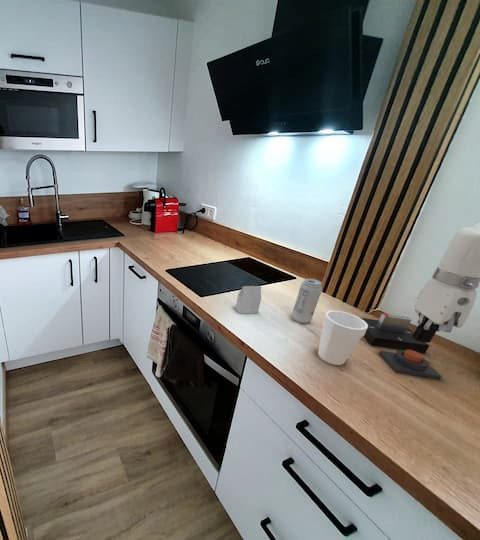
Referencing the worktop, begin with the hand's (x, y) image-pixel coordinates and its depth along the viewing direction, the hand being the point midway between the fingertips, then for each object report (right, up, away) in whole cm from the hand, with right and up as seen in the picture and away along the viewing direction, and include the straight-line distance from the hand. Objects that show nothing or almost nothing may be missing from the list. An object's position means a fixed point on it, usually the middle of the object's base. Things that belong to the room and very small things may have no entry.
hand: (420, 339), depth 77 cm
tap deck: (+5, -3, +16) cm, 17 cm away
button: (0, -6, +3) cm, 6 cm away
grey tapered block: (-34, +4, +29) cm, 45 cm away
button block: (0, -8, +4) cm, 9 cm away
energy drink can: (-17, +1, +24) cm, 30 cm away
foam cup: (-20, -7, +6) cm, 22 cm away
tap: (+6, 0, +14) cm, 15 cm away
